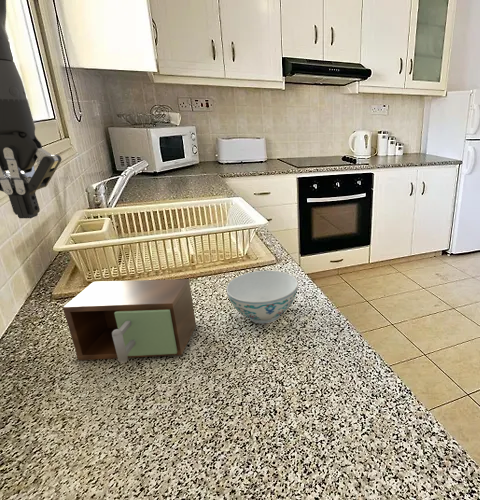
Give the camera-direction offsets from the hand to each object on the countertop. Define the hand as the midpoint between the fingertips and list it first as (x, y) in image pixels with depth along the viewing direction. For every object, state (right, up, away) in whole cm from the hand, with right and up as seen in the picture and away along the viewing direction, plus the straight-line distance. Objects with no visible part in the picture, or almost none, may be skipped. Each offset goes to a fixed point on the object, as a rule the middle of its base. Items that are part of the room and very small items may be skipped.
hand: (28, 217), depth 58 cm
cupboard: (+9, -23, +15) cm, 29 cm away
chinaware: (+31, -20, +25) cm, 45 cm away
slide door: (+14, -25, +8) cm, 30 cm away
